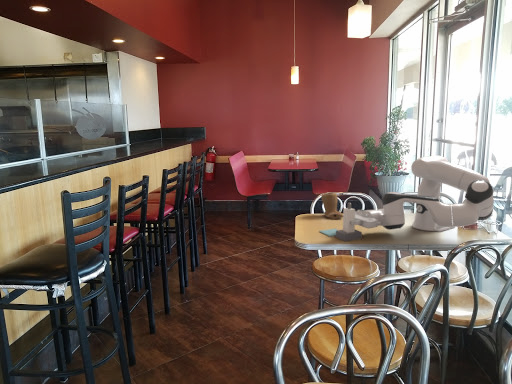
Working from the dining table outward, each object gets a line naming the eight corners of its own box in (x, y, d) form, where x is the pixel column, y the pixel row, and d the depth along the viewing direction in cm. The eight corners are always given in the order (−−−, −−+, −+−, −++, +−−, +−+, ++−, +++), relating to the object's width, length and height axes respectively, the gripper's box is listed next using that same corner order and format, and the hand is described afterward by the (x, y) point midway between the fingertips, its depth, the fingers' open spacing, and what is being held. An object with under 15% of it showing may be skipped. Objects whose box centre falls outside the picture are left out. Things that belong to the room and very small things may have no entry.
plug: (349, 236, 207) (350, 201, 204) (354, 238, 204) (355, 203, 201) (342, 237, 206) (343, 202, 203) (347, 239, 202) (348, 204, 199)
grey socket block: (352, 234, 210) (352, 228, 210) (361, 238, 203) (361, 231, 203) (335, 237, 206) (335, 230, 206) (344, 241, 199) (344, 234, 199)
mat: (335, 229, 220) (335, 228, 220) (346, 234, 211) (346, 233, 211) (319, 231, 217) (319, 230, 216) (329, 236, 208) (330, 235, 207)
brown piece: (319, 214, 257) (320, 190, 255) (338, 213, 257) (339, 190, 255) (323, 219, 242) (324, 195, 240) (343, 219, 242) (344, 194, 240)
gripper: (383, 229, 200) (360, 233, 194) (357, 220, 218) (335, 223, 213) (384, 217, 198) (360, 220, 193) (357, 209, 217) (336, 211, 212)
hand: (347, 221), depth 203 cm, fingers closed on plug, 4 cm apart
